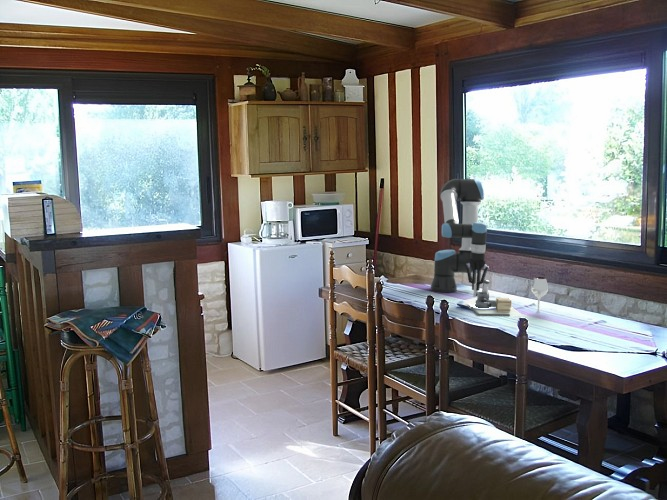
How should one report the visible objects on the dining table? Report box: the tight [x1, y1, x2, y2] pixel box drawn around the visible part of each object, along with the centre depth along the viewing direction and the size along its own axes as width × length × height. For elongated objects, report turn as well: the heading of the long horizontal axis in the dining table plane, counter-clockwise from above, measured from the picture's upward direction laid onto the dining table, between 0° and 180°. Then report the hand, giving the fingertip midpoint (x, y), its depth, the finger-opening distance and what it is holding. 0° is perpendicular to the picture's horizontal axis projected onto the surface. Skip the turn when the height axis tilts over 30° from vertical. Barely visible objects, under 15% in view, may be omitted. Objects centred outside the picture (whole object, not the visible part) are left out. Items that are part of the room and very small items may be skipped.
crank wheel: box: [475, 291, 512, 308], centre depth 360 cm, size 14×18×6 cm
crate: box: [495, 297, 512, 312], centre depth 352 cm, size 6×6×6 cm
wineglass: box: [530, 276, 549, 314], centre depth 350 cm, size 8×8×18 cm
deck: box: [468, 305, 525, 318], centre depth 354 cm, size 29×23×1 cm
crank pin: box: [481, 279, 491, 294], centre depth 363 cm, size 3×3×10 cm
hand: (475, 296), depth 367 cm, fingers closed
